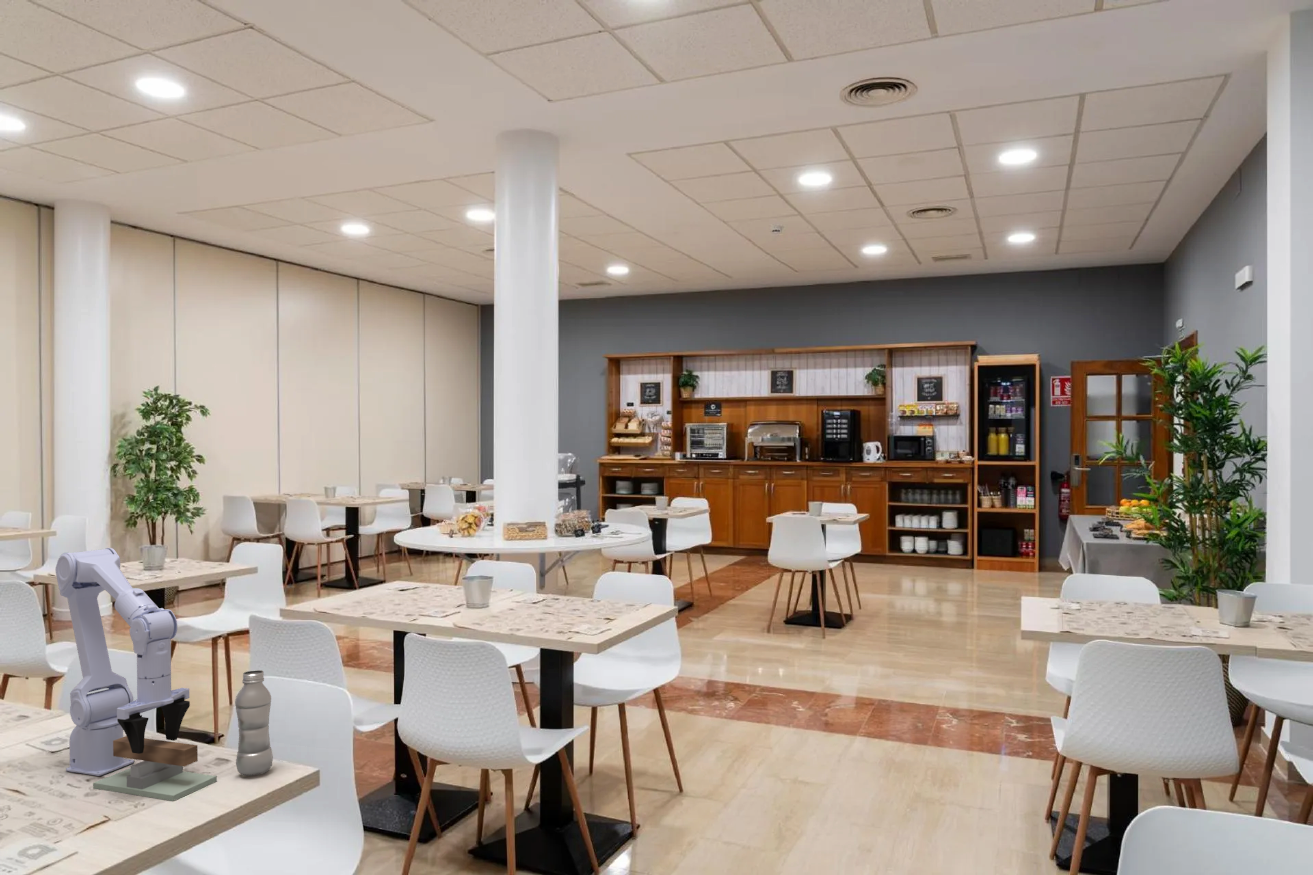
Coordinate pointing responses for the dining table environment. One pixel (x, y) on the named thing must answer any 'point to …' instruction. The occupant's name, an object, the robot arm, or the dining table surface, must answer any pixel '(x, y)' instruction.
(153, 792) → the balance stand
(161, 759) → the walnut beam
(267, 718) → the plastic bottle
